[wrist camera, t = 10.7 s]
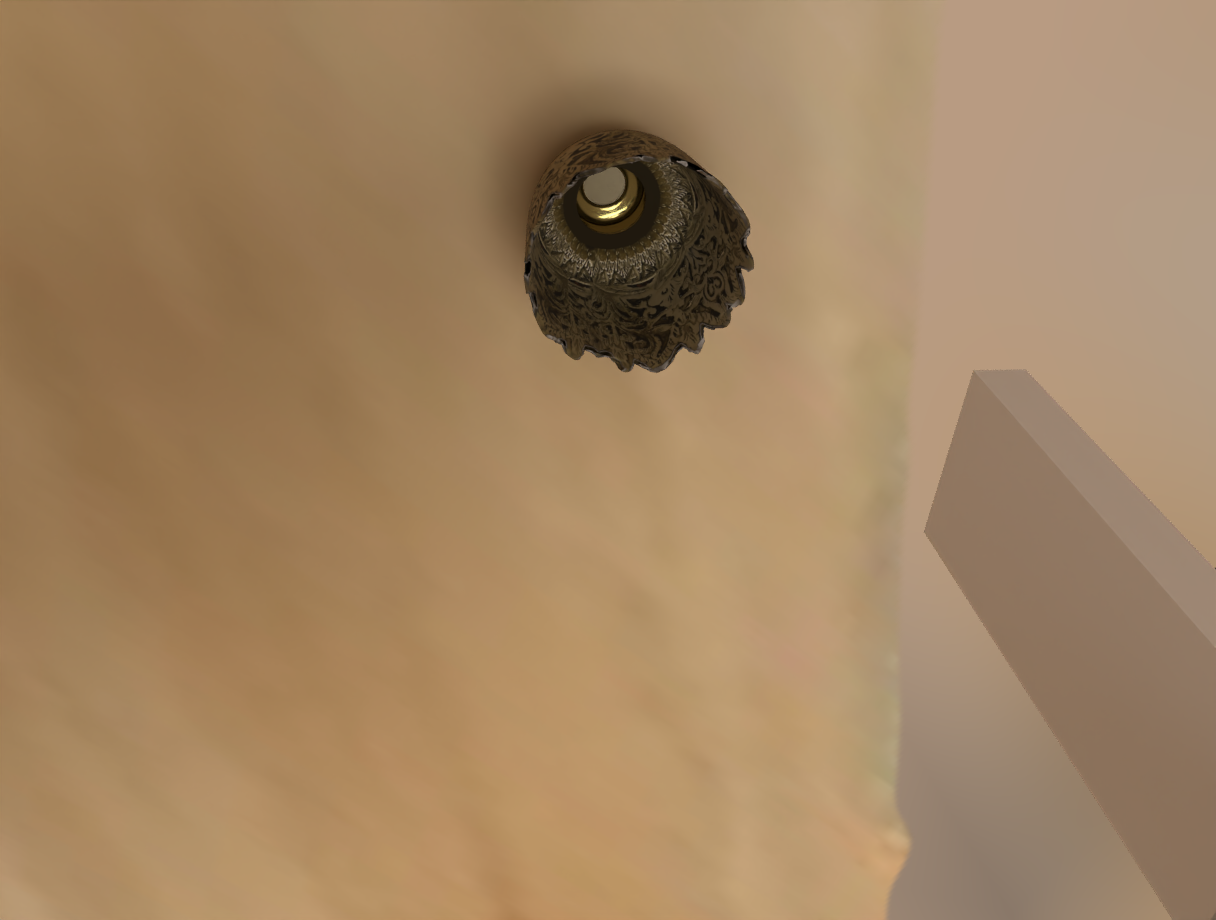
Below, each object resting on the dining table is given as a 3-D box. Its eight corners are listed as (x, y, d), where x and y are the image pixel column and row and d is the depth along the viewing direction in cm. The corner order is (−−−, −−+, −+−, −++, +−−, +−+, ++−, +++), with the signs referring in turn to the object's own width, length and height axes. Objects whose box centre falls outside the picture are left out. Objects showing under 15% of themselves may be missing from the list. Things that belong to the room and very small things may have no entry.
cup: (475, 234, 41) (488, 332, 35) (553, 50, 38) (584, 122, 31) (647, 299, 44) (688, 401, 37) (734, 133, 40) (796, 214, 34)
